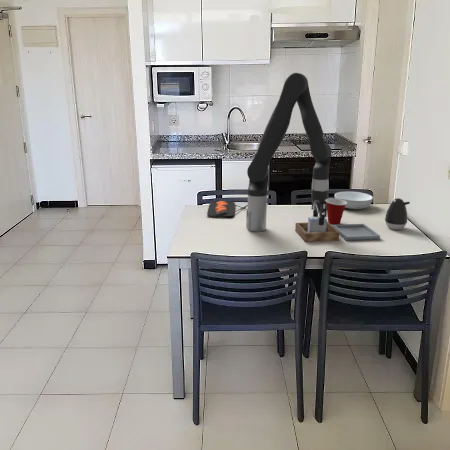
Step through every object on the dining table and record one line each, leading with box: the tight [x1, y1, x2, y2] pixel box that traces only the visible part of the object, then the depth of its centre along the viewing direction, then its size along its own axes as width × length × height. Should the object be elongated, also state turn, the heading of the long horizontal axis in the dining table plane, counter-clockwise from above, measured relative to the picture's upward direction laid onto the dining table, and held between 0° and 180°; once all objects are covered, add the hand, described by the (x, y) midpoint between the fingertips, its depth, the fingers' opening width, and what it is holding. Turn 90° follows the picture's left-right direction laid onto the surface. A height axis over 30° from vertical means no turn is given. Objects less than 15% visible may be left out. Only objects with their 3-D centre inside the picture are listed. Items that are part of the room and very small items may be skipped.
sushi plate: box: [206, 200, 248, 218], centre depth 255 cm, size 29×30×4 cm
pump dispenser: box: [384, 197, 411, 231], centre depth 225 cm, size 10×10×15 cm
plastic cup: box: [324, 197, 347, 226], centre depth 233 cm, size 11×11×12 cm
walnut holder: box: [294, 221, 340, 243], centre depth 216 cm, size 16×16×4 cm
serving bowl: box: [334, 191, 374, 210], centre depth 263 cm, size 21×21×7 cm
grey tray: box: [332, 223, 381, 242], centre depth 219 cm, size 16×18×2 cm
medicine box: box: [306, 216, 328, 233], centre depth 215 cm, size 8×4×9 cm, turn 92°
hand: (318, 222), depth 215 cm, fingers open, 8 cm apart
